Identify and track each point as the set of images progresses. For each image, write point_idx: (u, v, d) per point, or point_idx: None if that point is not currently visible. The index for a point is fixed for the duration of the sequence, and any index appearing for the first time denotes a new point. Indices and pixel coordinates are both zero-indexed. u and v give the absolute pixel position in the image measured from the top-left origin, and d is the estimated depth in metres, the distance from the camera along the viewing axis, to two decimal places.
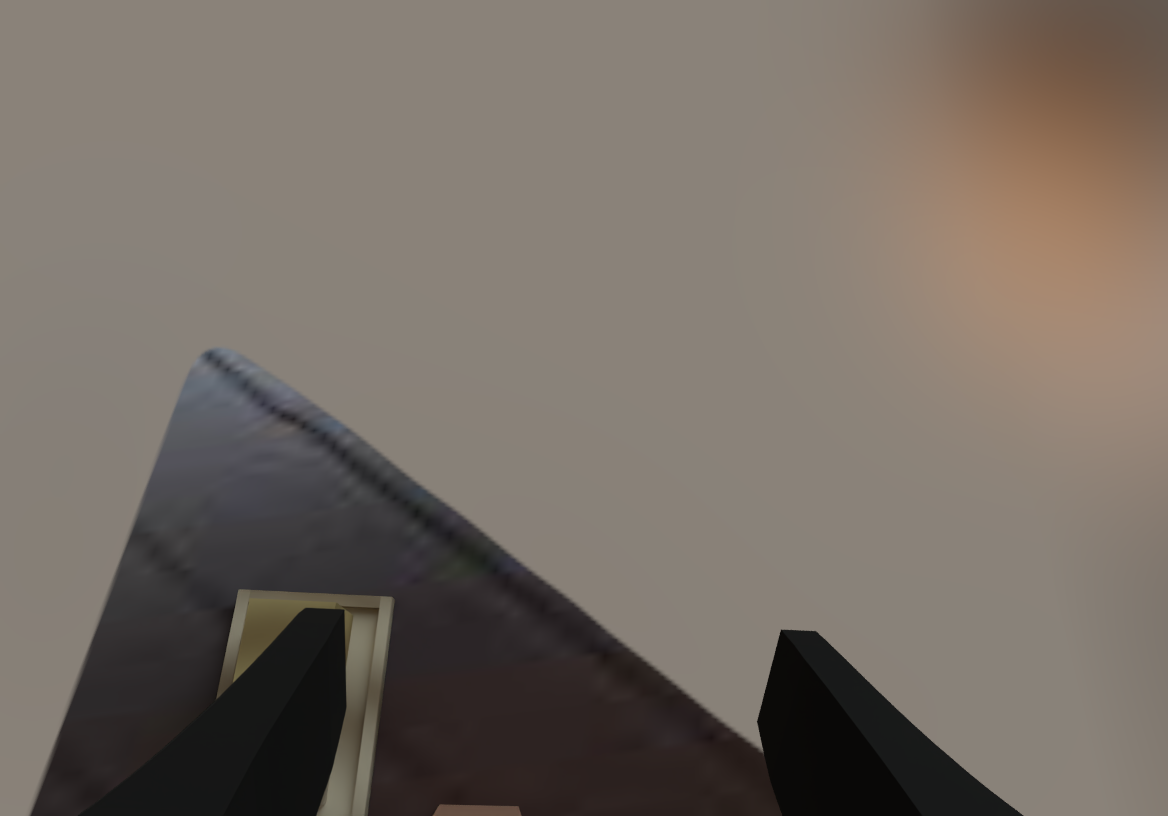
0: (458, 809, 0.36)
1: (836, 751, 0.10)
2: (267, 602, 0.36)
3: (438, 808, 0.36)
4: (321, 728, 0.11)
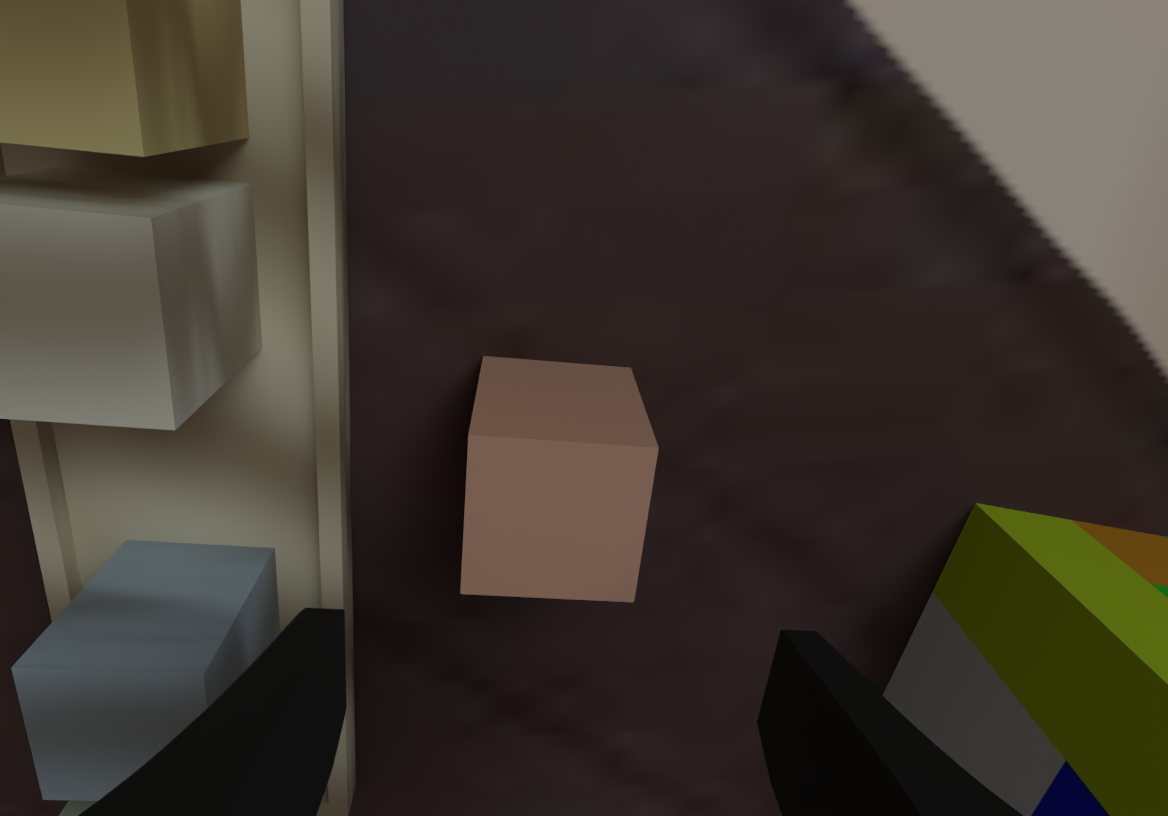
0: (520, 386, 0.18)
1: (836, 751, 0.10)
2: None
3: (481, 380, 0.18)
4: (321, 728, 0.11)
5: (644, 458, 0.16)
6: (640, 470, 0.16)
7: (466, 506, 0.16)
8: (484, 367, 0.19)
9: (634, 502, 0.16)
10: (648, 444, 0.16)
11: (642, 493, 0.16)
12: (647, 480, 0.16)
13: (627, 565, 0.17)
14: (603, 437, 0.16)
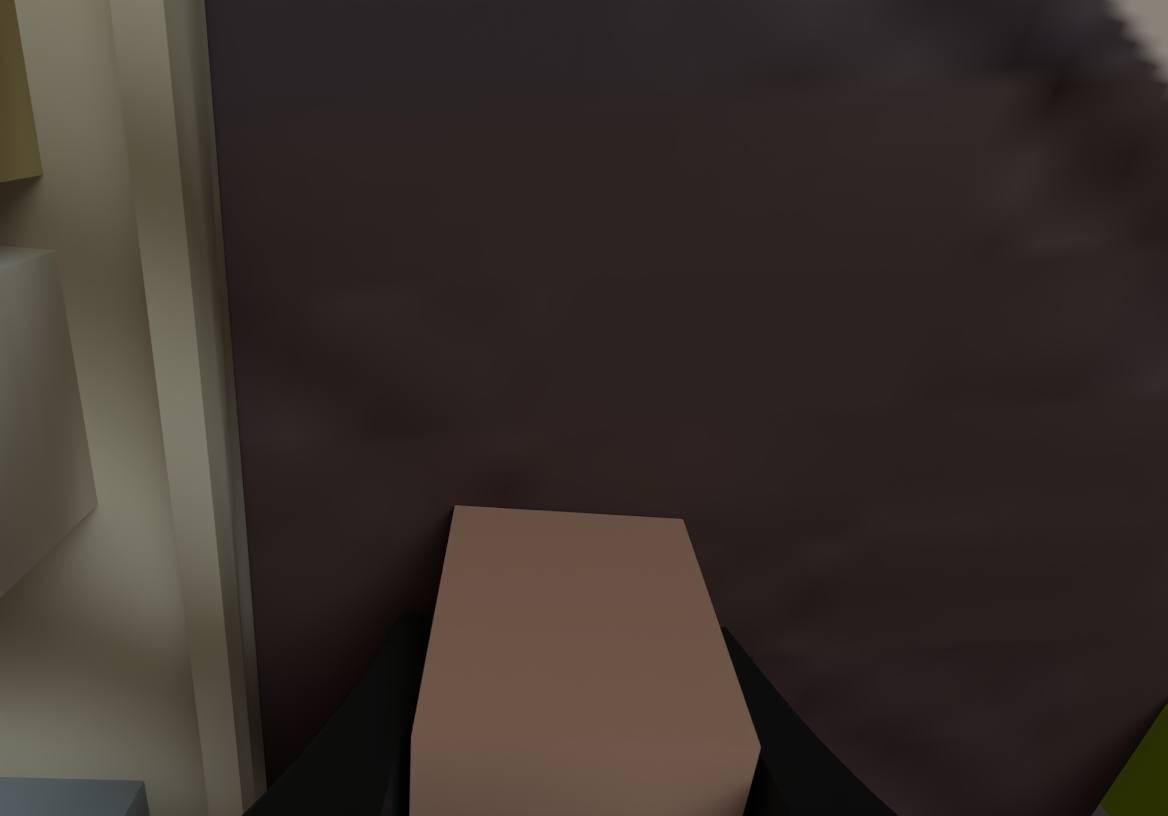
0: (511, 579, 0.11)
1: None
2: None
3: (447, 567, 0.11)
4: None
5: (734, 763, 0.09)
6: (726, 781, 0.09)
7: None
8: (455, 534, 0.12)
9: None
10: (741, 736, 0.09)
11: (727, 815, 0.09)
12: (737, 795, 0.09)
13: None
14: (659, 721, 0.09)
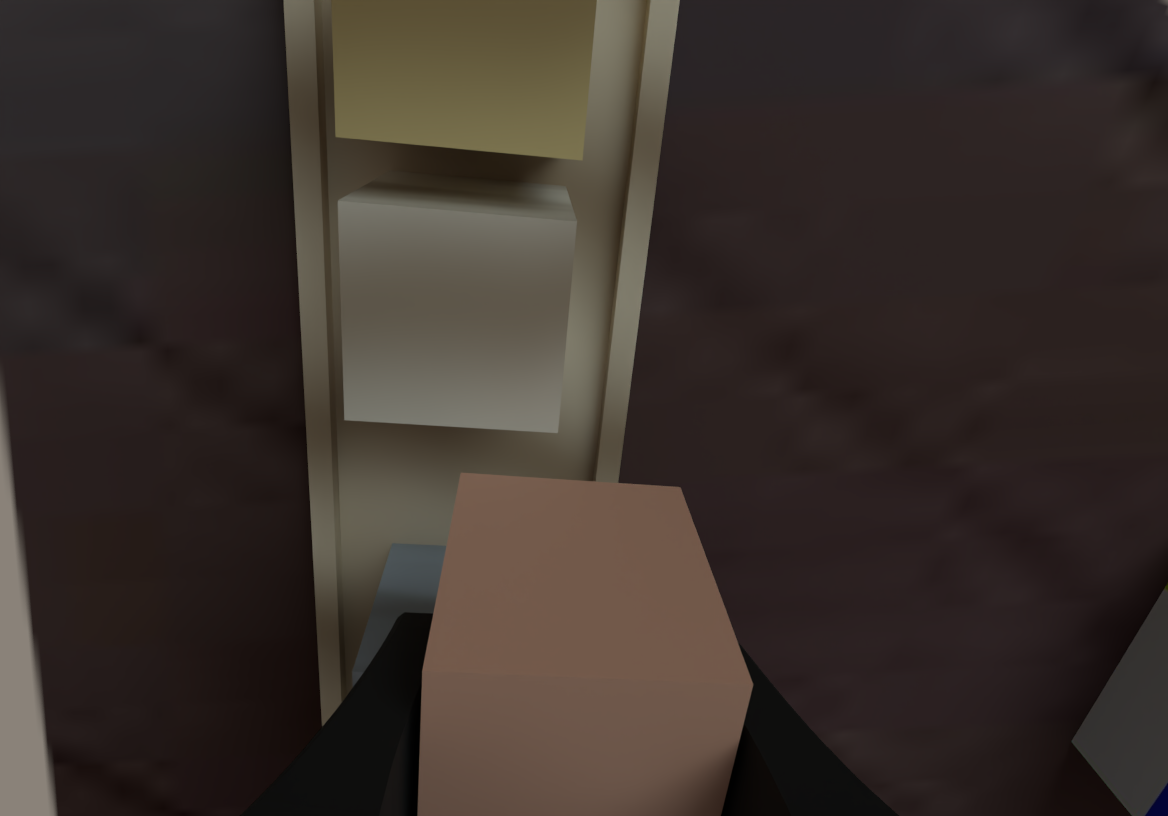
0: (516, 537, 0.12)
1: None
2: None
3: (454, 526, 0.12)
4: None
5: (728, 700, 0.09)
6: (720, 718, 0.09)
7: (421, 776, 0.09)
8: (461, 498, 0.13)
9: (707, 765, 0.10)
10: (734, 675, 0.09)
11: (721, 752, 0.10)
12: (731, 733, 0.09)
13: None
14: (656, 662, 0.09)
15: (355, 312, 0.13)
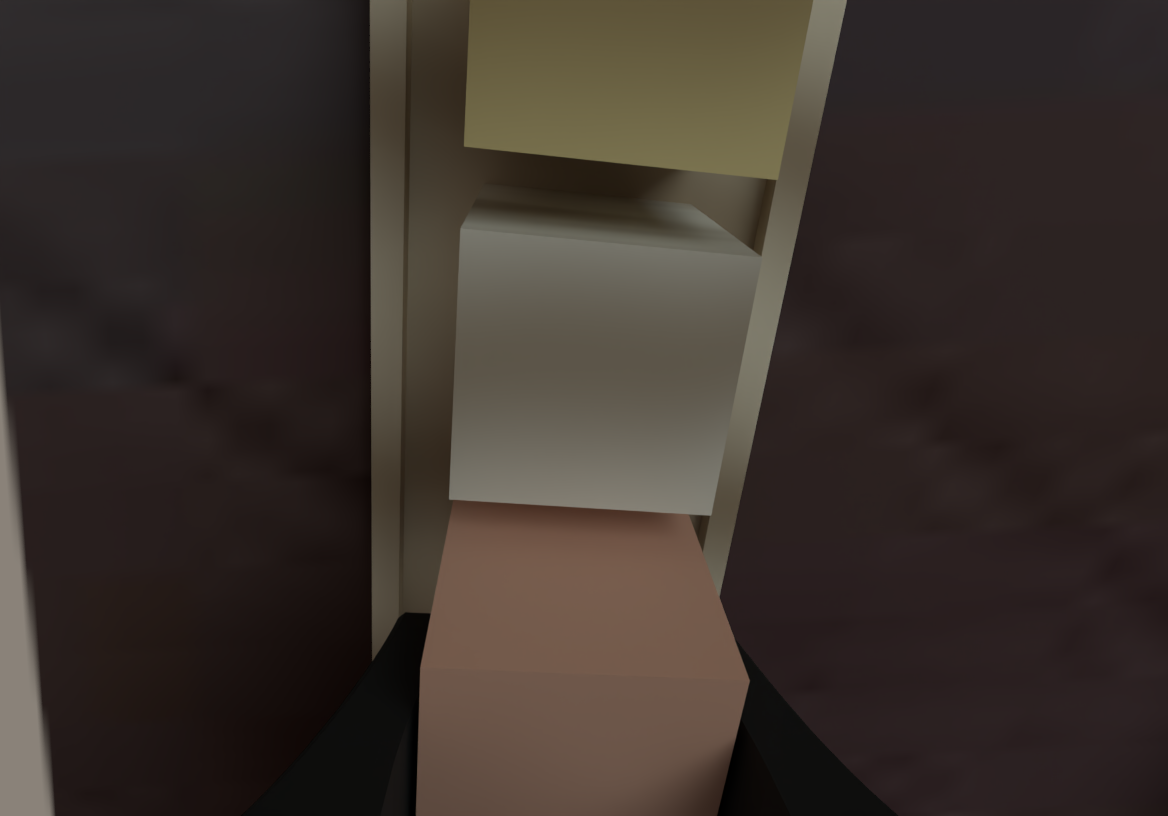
0: (514, 535, 0.12)
1: None
2: None
3: (452, 524, 0.12)
4: None
5: (724, 696, 0.09)
6: (717, 714, 0.09)
7: (420, 772, 0.10)
8: None
9: (704, 761, 0.10)
10: (731, 671, 0.09)
11: (718, 748, 0.10)
12: (728, 728, 0.10)
13: None
14: (654, 658, 0.09)
15: (472, 368, 0.10)
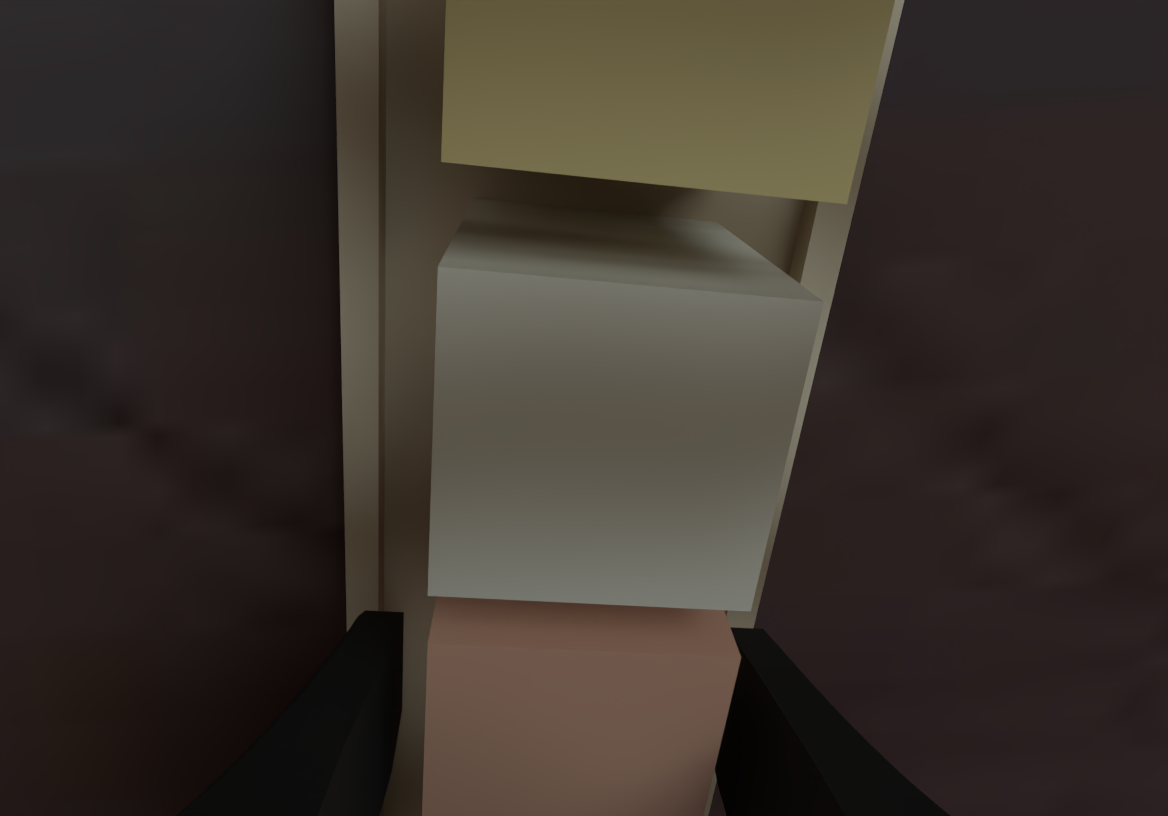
0: None
1: (772, 749, 0.10)
2: None
3: None
4: (385, 730, 0.11)
5: (717, 672, 0.10)
6: (710, 689, 0.10)
7: (427, 745, 0.10)
8: None
9: (698, 734, 0.10)
10: (723, 649, 0.10)
11: (711, 722, 0.10)
12: (720, 703, 0.10)
13: None
14: (650, 636, 0.10)
15: (455, 439, 0.08)
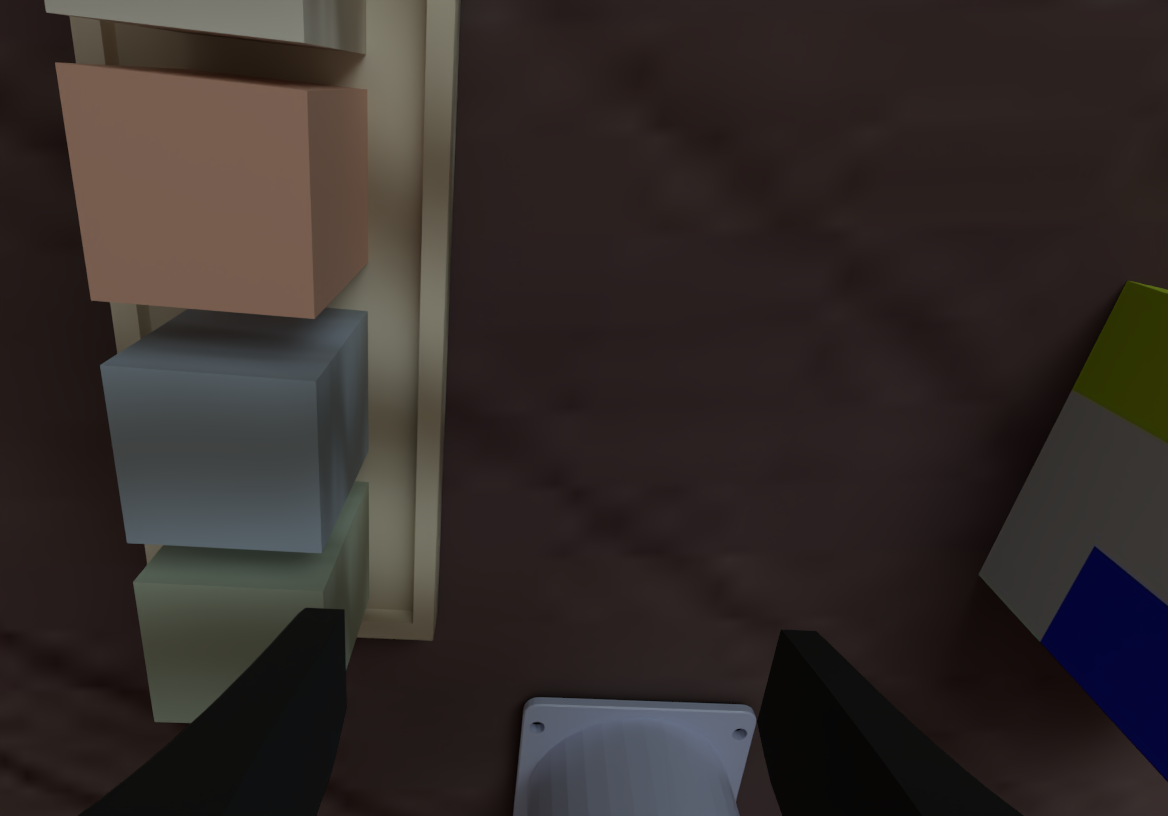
0: (196, 72, 0.15)
1: (836, 751, 0.10)
2: None
3: (150, 67, 0.15)
4: (321, 728, 0.11)
5: (291, 106, 0.13)
6: (289, 124, 0.13)
7: (74, 171, 0.13)
8: (171, 68, 0.16)
9: (290, 171, 0.13)
10: (297, 89, 0.13)
11: (298, 158, 0.13)
12: (301, 139, 0.13)
13: (296, 264, 0.14)
14: (243, 82, 0.13)
15: None
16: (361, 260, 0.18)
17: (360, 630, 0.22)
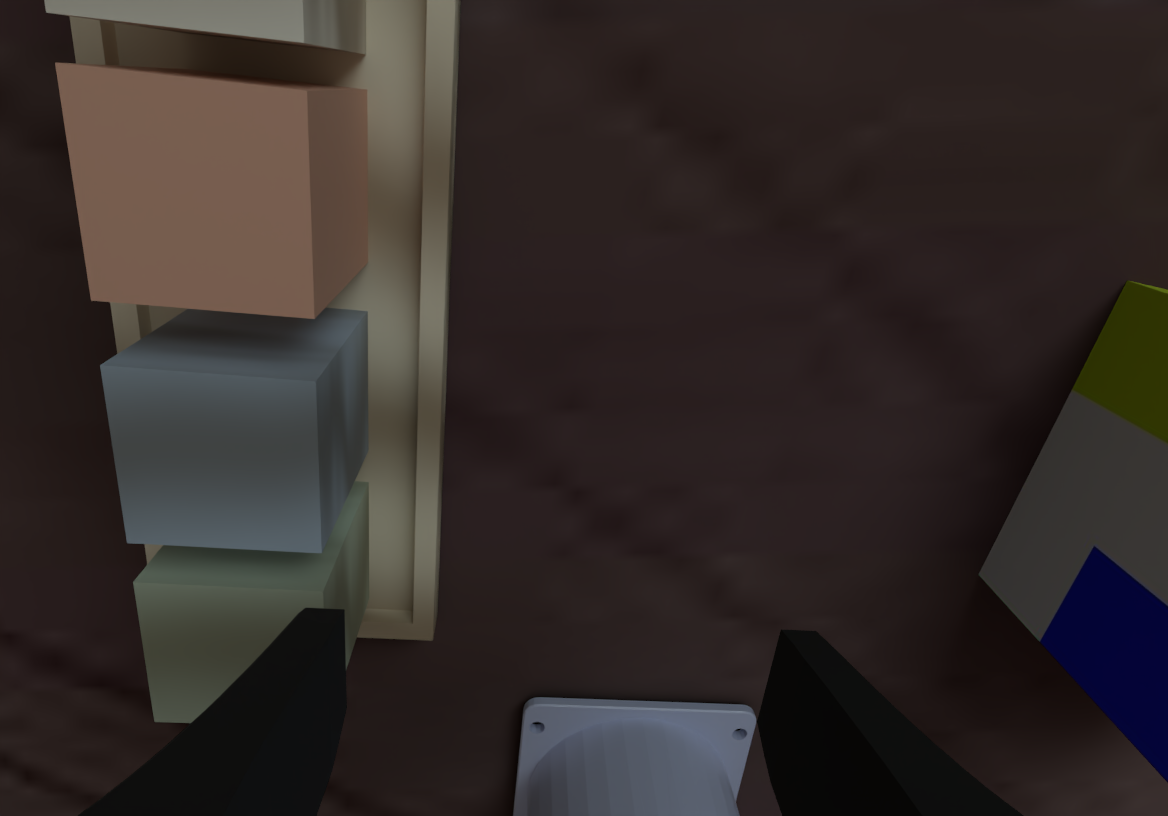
0: (196, 72, 0.15)
1: (836, 751, 0.10)
2: None
3: (150, 67, 0.15)
4: (321, 728, 0.11)
5: (291, 106, 0.13)
6: (289, 124, 0.13)
7: (74, 171, 0.13)
8: (171, 68, 0.16)
9: (290, 171, 0.13)
10: (297, 89, 0.13)
11: (297, 158, 0.13)
12: (301, 139, 0.13)
13: (296, 264, 0.14)
14: (243, 82, 0.13)
15: None
16: (361, 260, 0.18)
17: (360, 630, 0.22)
